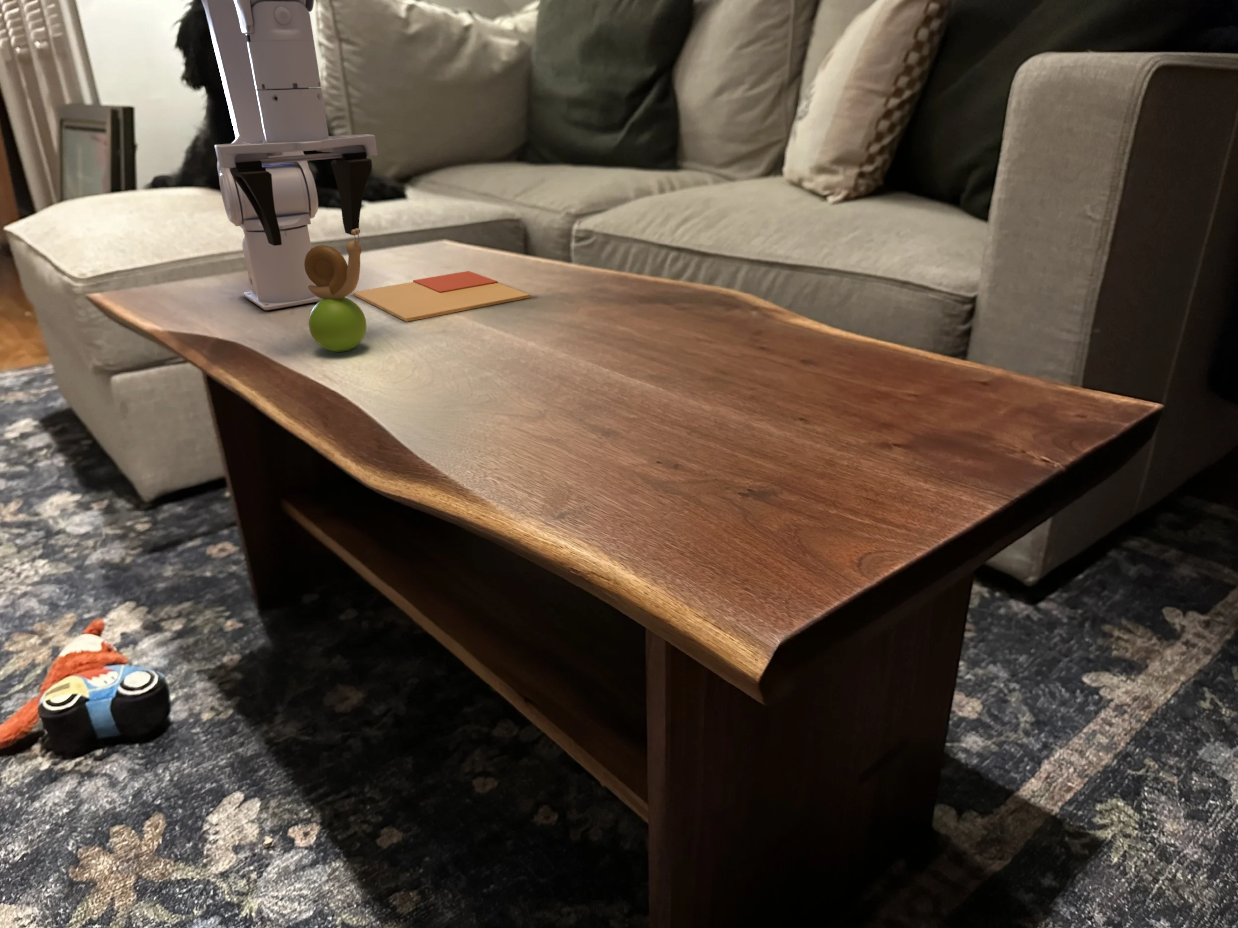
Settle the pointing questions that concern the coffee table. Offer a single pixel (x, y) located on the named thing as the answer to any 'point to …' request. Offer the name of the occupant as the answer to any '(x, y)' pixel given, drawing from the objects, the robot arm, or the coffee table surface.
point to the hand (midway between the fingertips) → (314, 239)
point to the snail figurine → (335, 296)
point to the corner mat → (439, 295)
